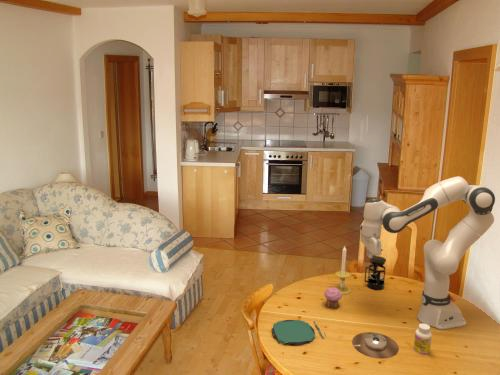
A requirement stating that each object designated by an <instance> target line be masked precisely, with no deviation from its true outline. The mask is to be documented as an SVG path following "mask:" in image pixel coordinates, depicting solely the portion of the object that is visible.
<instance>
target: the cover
mask: <svg viewBox="0 0 500 375" xmlns="http://www.w3.org/2000/svg"><path fill="white" fill-rule="evenodd" d="M379 334H380V333H379ZM379 334H368V335H367V336H366V339H365V345H366V347H367V348H368V349H370V350H373V351H383V350H385V349H386V343H387V340H386V338H385V337H383V336H382V335H379Z"/></svg>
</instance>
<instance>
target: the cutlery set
mask: <svg viewBox="0 0 500 375" xmlns="http://www.w3.org/2000/svg"><path fill="white" fill-rule="evenodd" d="M319 322H320V321H319ZM313 324H314V325H315V327H316V330H317V331H318V334H319V336H320V337H321V338H322V340H324V339H325V338H324V336H326V337H327V335H326V332H324V335H323V334H322V332H321V330H320V328H319V326H318V325H317V324H316V321H313ZM271 330H272V334H273V336H274V337H275V339H277V341H278V342H279V343H280V344H281V345H285V344H291V345H301V344H305V343H308V342H312V341H313V340H314V339H315V338H316V333H315V329H314V327H312V326H311V325H310V324H309V322H306V321H303V320H300V319H285V320H280V321H279V320H278V321H276V323H274V324H273V325H272V328H271Z"/></svg>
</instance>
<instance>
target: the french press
mask: <svg viewBox="0 0 500 375" xmlns="http://www.w3.org/2000/svg"><path fill="white" fill-rule="evenodd" d="M382 251H383V248H381V252H382ZM369 261H370V265H368V266H365V269H364V271H365V272H364V283H367V284H366V286H367V288H368V289H370V290H372V291H383V290H384V289H385V278H386V266H384V265H385V264H386V262H387V259H386V258H385V257H383V256H380V255H378V256H374V255H373V256H372V258H369ZM378 267H379V268H382V270H378ZM367 271H368V273H367ZM371 272H372V273H371ZM381 273H383V274H381ZM367 274H368V277H367ZM366 279H367V280H366Z"/></svg>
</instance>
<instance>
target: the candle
mask: <svg viewBox="0 0 500 375" xmlns="http://www.w3.org/2000/svg"><path fill="white" fill-rule="evenodd" d="M341 253H342V254H341V256H342V257H341V268H340V269H341V270H338V271H335V273H334V275H335V276H336V277H338V278H340V280H339V285H335V286H334V287H335V288H337V289H338V290H340V291H341V293H342V295H349V294H350V293H351V292H352V290H351V288H350V287H348V286H346V282H345V281H346V279H348V278H350V277H351V275H352V274H351V273H350V272H349V271H346V263H347V262H346V261H347V248H346V245H344V246H343V248H342V252H341Z"/></svg>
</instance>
